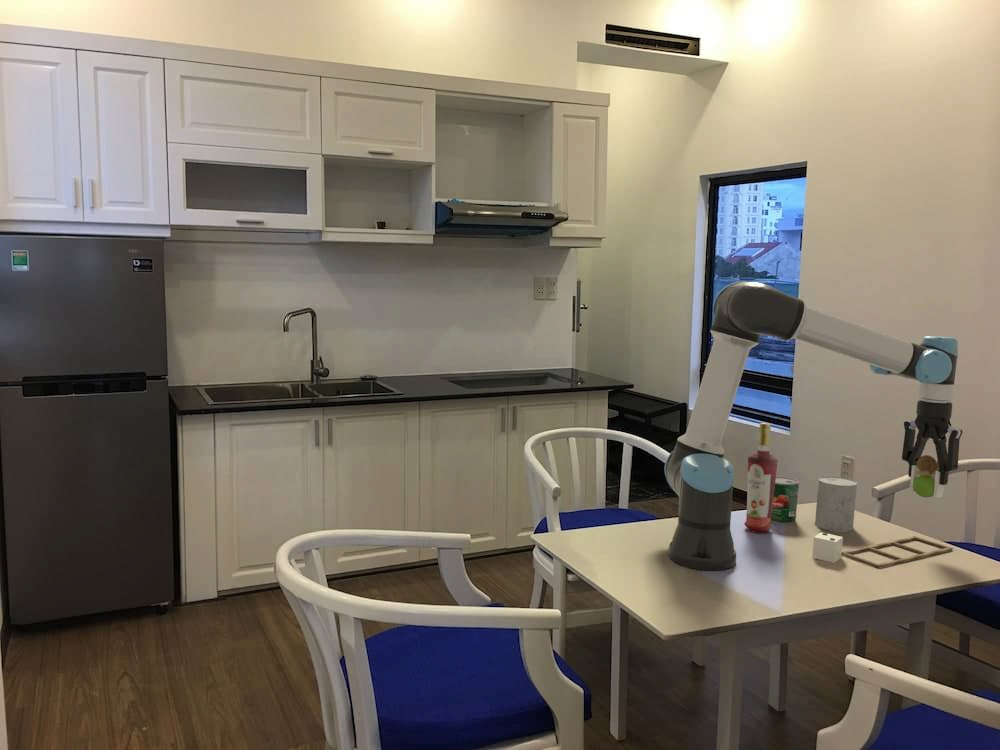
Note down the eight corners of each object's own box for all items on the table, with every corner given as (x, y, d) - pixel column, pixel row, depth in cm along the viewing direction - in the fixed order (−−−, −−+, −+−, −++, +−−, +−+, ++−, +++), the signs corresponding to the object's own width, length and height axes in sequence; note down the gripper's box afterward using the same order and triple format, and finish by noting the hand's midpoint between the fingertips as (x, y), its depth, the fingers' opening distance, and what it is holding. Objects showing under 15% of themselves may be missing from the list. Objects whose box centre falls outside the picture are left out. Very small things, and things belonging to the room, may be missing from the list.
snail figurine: (946, 500, 195) (950, 451, 193) (919, 499, 195) (923, 450, 194) (934, 494, 200) (938, 447, 199) (908, 493, 200) (912, 446, 199)
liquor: (777, 530, 209) (785, 424, 206) (764, 536, 204) (772, 427, 200) (751, 524, 214) (758, 420, 211) (737, 529, 209) (745, 423, 205)
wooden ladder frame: (878, 568, 183) (878, 565, 183) (840, 554, 192) (841, 552, 192) (952, 550, 197) (952, 548, 197) (914, 538, 206) (914, 536, 206)
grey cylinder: (853, 524, 217) (857, 479, 216) (853, 533, 208) (857, 487, 207) (815, 518, 221) (819, 474, 219) (813, 528, 212) (817, 482, 211)
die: (834, 563, 186) (836, 541, 185) (812, 557, 189) (814, 536, 189) (841, 557, 190) (843, 536, 189) (819, 552, 193) (821, 531, 192)
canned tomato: (763, 521, 217) (766, 481, 216) (767, 514, 224) (769, 475, 223) (794, 526, 214) (797, 485, 212) (797, 518, 221) (800, 479, 219)
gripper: (982, 405, 189) (972, 501, 192) (909, 394, 205) (900, 483, 207) (963, 407, 185) (953, 505, 188) (890, 395, 201) (882, 486, 204)
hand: (926, 493), depth 198 cm, fingers closed on snail figurine, 5 cm apart
